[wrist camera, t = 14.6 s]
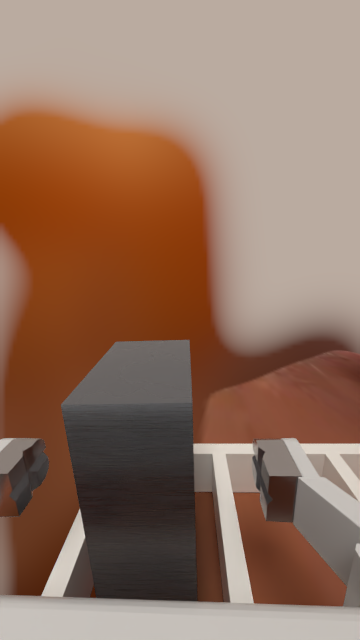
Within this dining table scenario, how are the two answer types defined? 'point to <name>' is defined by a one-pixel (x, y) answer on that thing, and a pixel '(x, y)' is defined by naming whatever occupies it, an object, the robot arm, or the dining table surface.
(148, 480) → the dark grey metallic block
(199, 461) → the rack
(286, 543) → the dining table surface
